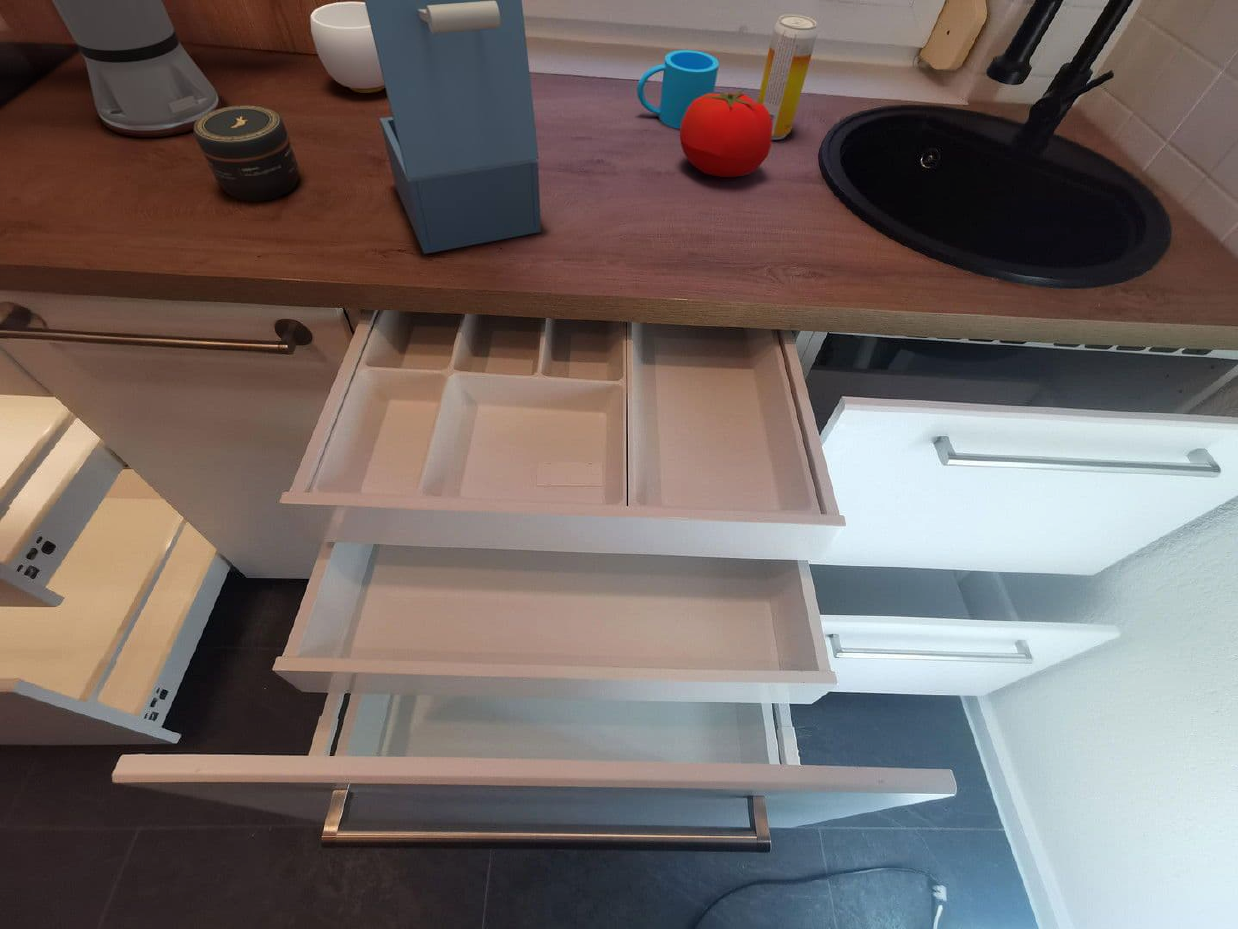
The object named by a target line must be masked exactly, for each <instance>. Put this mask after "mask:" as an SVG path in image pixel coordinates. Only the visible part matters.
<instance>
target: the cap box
mask: <svg viewBox="0 0 1238 929" xmlns="http://www.w3.org/2000/svg"><path fill="white" fill-rule="evenodd" d="M379 123H380V125H381V130H382V131H381V132H382V134H383V135H382V136H383V139H384V143H385V147H386V152H387V157H388V160H389V164H390V168H391V173H392V177H393V182H394V185H395V186H394V187H395V189H396V192H397V194H398V196H399V198H400V201H401V203H402V206H403V208H404V211H405V213H406V215H407V217H408V220H409V222H410V225H411V228H412V229H413V231H414V234H415V236H416V239H417V240H418V244H419V245H420V248H421V250H422V252H423V254H424V255H426V254H431V253H437V252H441V251H447V250H453V249H458V248H464V247H468V246H475V245H480V244H484V243H489V242H495V241H496V242H497V241H501V240H507V239H511V238H516V237H517V238H518V237H521V236H526V235H531V234H532V235H533V234H537V233H541V232H542V222H541V202H540V201H541V199H540V198H541V197H540V179H539V178H540V176H539V175H540V174H539V161H538V159H535V160H529V161H522V162H516V163H509V164H503V165H496V166H490V167H483V168H477V169H470V170H464V171H457V172H451V173H444V174H438V175H431V176H425V177H418V178H412V179H408V177H407V175H406V171H405V167H404V162H403V158H402V154H401V150H400V146H399V142H398V138H397V133H396V129H395V125H394V121H393V117H392V116H387V117H380V118H379Z"/></svg>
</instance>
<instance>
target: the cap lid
mask: <svg viewBox="0 0 1238 929" xmlns="http://www.w3.org/2000/svg"><path fill="white" fill-rule="evenodd" d="M363 1H364V2H365V5H366V9H367V13H368V18H369V22H370V26H371V30H372V34H373V38H374V42H375V47H376V51H377V55H378V59H379V63H380V67H381V71H382V76H383V80H384V84H385V88H384V89H385V92H386V96H387V100H388V105H389V108H390V112H391V117H393V121H394V125H395V129H396V133H397V138H398V142H399V146H400V150H401V154H402V158H403V162H404V167H405V171H406V175H407V177H408V179H412V178H418V177H425V176H431V175H438V174H444V173H451V172H457V171H464V170H470V169H477V168H483V167H490V166H496V165H503V164H509V163H516V162H522V161H529V160H535V159H536V160H539V158H540V156H539V147H538V139H537V138H538V137H537V128H536V120H535V110H534V102H533V91H532V83H531V73H530V65H529V55H528V54H529V53H528V46H527V36H526V28H525V18H524V8H523V0H363Z"/></svg>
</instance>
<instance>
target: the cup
mask: <svg viewBox="0 0 1238 929" xmlns="http://www.w3.org/2000/svg"><path fill="white" fill-rule="evenodd" d="M310 32H311V36H312V40H313V43H314V47H315V50H316V53H317V56H318V59H319V60H320V61H321V63H322V65H323V66H324V68H325V70H326V72H327V74H328V75H329V76H330V77H331V78H332V79H333V80H335V82H337V83H338V84H340V85H341V86H343V87H347V88H349V89H350V90H352V91H353V92H355V93H360V94H371V93H373V94H374V93H377V92H381V91H382V90H383V89H386V88H385V84H384V80H383V76H382V71H381V67H380V63H379V59H378V55H377V51H376V47H375V42H374V38H373V34H372V30H371V26H370V22H369V18H368V13H367V9H366V5H365V1H364V2H363V1H340V2H339V1H338V2H334V3H328V4H325V5H322V6H320V7H317V8H315V9H314V10H313V12H312V13H311V14H310Z"/></svg>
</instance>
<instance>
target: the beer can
mask: <svg viewBox="0 0 1238 929" xmlns="http://www.w3.org/2000/svg"><path fill="white" fill-rule="evenodd" d="M817 23H818V22H817V21H816V20H815V19H813V18H811V17H809V16H806V15H801V14H794V13H789V14H782V15H780V16H779V18H778V20H777V22H776V23H775V25H773V30H772V35H771V40H770V44H769V47H768V53H767V56H766V62H765V66H764V70H763V74H762V79H761V84H760V89H759V93H758V98H757V103H760V104H763V105H764V106H765V108H766V109H767V111H768V112H769V115H770V117H771V120H772V136H771V140H772V141H773V140H774V141H775V140H776V141H777V140H782V139H784V138H786V137H787V135H789V133H791V131H792V128H793V124H794V120H795V118H796V113H797V111H798V110H797V109H798V106H799V102H800V98H801V95H802V91H803V87H804V84H805V80H806V77H807V73H808V69H809V65H810V61H811V57H812V54H813V51H814V46H815V43H816V39H817V36H818V28H817V25H818V24H817Z"/></svg>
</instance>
